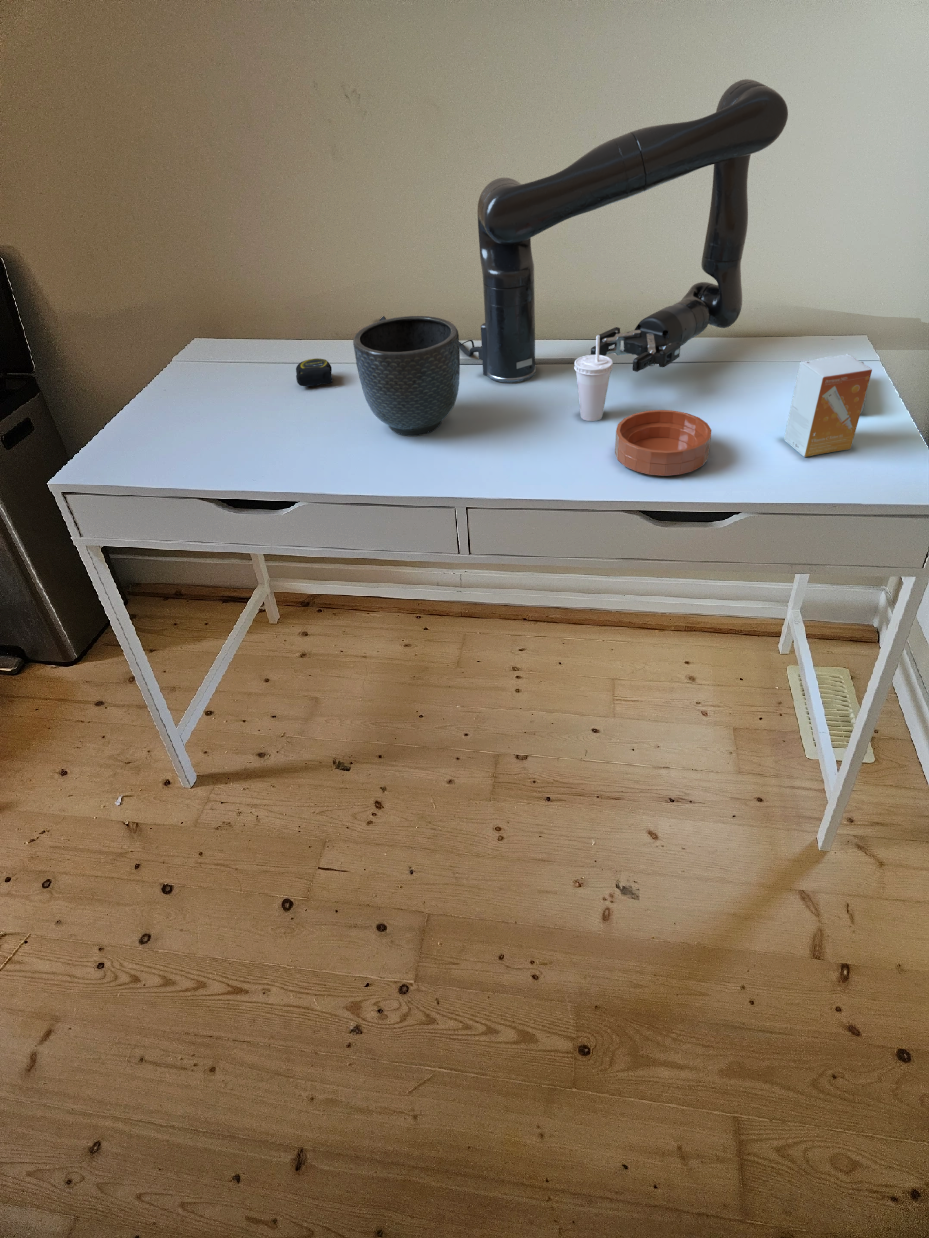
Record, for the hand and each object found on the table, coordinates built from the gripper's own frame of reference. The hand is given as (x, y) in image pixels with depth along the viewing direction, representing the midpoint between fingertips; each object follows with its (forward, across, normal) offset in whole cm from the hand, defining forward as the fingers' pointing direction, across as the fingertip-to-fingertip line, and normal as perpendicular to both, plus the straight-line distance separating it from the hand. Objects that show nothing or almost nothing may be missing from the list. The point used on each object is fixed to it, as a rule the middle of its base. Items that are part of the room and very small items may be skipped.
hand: (613, 360), depth 138 cm
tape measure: (+25, -52, +8) cm, 58 cm away
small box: (-6, +34, +8) cm, 36 cm away
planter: (+26, -23, +8) cm, 36 cm away
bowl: (+11, +17, +8) cm, 22 cm away
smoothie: (+6, 0, +8) cm, 10 cm away
